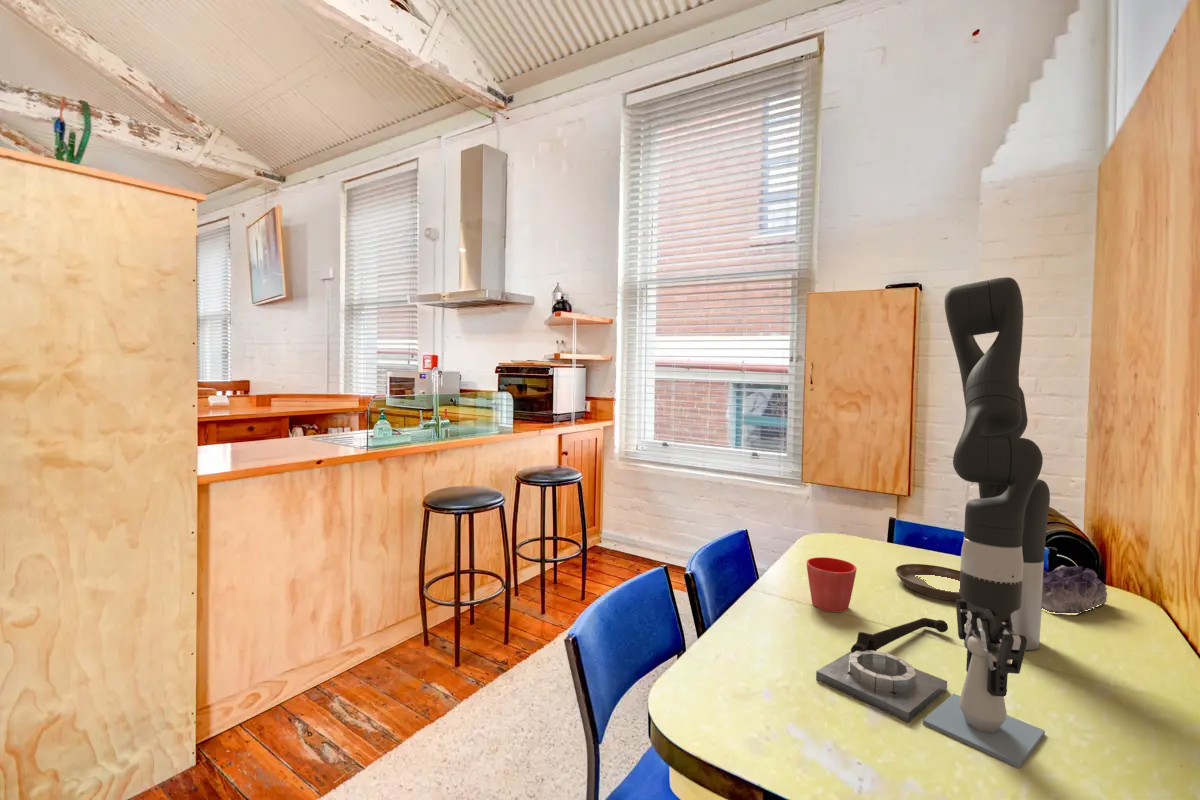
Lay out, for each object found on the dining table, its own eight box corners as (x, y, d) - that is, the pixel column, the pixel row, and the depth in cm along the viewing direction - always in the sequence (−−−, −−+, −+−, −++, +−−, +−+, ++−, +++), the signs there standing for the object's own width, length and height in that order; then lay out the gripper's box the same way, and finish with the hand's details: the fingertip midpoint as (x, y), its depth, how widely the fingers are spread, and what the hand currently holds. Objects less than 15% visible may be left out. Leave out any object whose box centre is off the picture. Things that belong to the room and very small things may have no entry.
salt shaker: (1013, 729, 82) (1017, 642, 82) (994, 741, 79) (998, 650, 79) (969, 709, 87) (973, 626, 87) (950, 719, 84) (954, 634, 84)
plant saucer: (988, 586, 144) (989, 573, 144) (993, 613, 127) (993, 599, 126) (898, 570, 155) (898, 558, 155) (891, 593, 138) (891, 579, 138)
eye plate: (858, 654, 105) (859, 636, 105) (946, 689, 93) (947, 669, 93) (816, 679, 96) (816, 659, 96) (908, 722, 84) (909, 699, 84)
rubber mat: (953, 697, 91) (953, 693, 91) (1044, 734, 82) (1044, 730, 82) (922, 723, 84) (923, 719, 84) (1019, 768, 74) (1019, 763, 74)
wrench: (950, 641, 114) (875, 673, 96) (923, 634, 118) (847, 664, 100) (949, 614, 114) (875, 642, 97) (923, 608, 118) (847, 634, 101)
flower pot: (804, 610, 125) (805, 567, 125) (805, 593, 135) (807, 554, 135) (856, 619, 121) (857, 575, 121) (853, 601, 131) (855, 560, 131)
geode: (1086, 625, 121) (1080, 579, 122) (1024, 613, 131) (1018, 570, 131) (1118, 603, 132) (1112, 561, 133) (1058, 594, 142) (1053, 554, 142)
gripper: (1052, 591, 75) (1045, 715, 75) (989, 557, 89) (984, 662, 89) (992, 587, 75) (986, 710, 76) (939, 554, 90) (935, 658, 90)
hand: (985, 683), depth 83 cm, fingers open, 5 cm apart
